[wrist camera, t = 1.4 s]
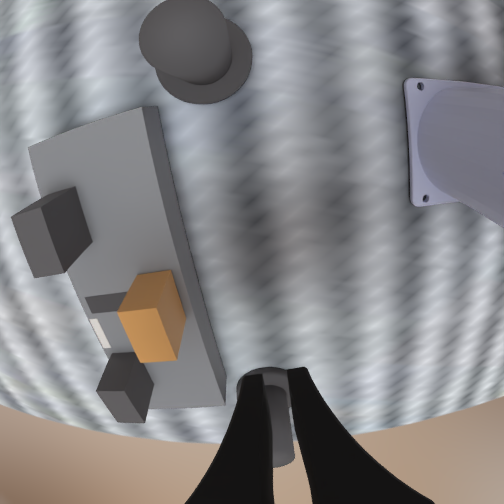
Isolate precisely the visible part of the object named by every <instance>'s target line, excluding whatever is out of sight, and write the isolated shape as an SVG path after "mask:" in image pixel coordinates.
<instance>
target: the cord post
mask: <svg viewBox="0 0 504 504" xmlns="http://www.w3.org/2000/svg"><path fill="white" fill-rule="evenodd" d="M255 374H262V375H263V379H264V384H265V389H266V394H267V398H268V403H269V408H270V415H271V424H272V432H273V468H275V467H281V466H284V465H287V464H289V463H291V462H292V461H293V460H294V458H295V454H294V446H293V438H292V431H291V423H290V416H289V408H290V407H291V400H290V393H289V385H288V378H287V371H286V370H284V369H280V368H274V367H266V368H259V369H255V370H253V371H250V372H248V373H247V374H245V375H244V376H247V375H255ZM244 376H243V377H244ZM243 377H242V378H243ZM242 378H241V379H240V380H239V382H238V384H237V400H238V396H239V392H240V388H241V382H242Z"/></svg>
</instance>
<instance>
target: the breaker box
mask: <svg viewBox="0 0 504 504" xmlns="http://www.w3.org/2000/svg"><path fill="white" fill-rule="evenodd" d="M28 150H29V154H30V159H31V163H32V167H33V171H34V174H35V178H36V182H37V185H38V189H39V192H40V196H41V199H39V200H38V201H36V202H34V203H33V204H31V205H29V206H28V207H26V208H24V209H23V210H21V211H20V212H18V213H16V214H15V215H13V216H12V217H11V218H12V221H13V224H14V227H15V230H16V233H17V236H18V238H19V241H20V244H21V246H22V249H23V252H24V254H25V257H26V259H27V262H28V264H29V266H30V269H31V271H32V274H33V276H34V278H39V277H45V276H50V275H56V274H62V273H65V272H66V271H67V272H68V275H69V277H70V280H71V282H72V284H73V287H74V289H75V291H76V294H77V296H78V298H79V300H80V303H81V305H82V307H83V309H84V311H85V313H86V316H87V318H88V320H89V322H90V324H91V326H92V328H93V330H94V332H95V334H96V336H97V338H98V340H99V342H100V344H101V346H102V348H103V349H104V351H105V353H106V355H107V357H108V359H109V361H108V363H107V366H106V368H105V370H104V373H103V375H102V378H101V380H100V382H99V385H98V387H97V390H96V392H97V393H98V395H99V396H100V398H101V399H102V401H103V402H104V404H105V405H106V406H107V408H108V409H109V411H110V412H111V414H112V415H113V416H114V418H115V419H116V420H117V422H121V423H145V420H146V416H147V412H148V409H178V408H199V407H213V406H225V402H226V374H225V371H224V367H223V364H222V361H221V358H220V354H219V351H218V348H217V345H216V341H215V338H214V335H213V331H212V328H211V325H210V321H209V318H208V314H207V311H206V307H205V304H204V300H203V297H202V293H201V289H200V286H199V282H198V279H197V275H196V271H195V267H194V264H193V260H192V256H191V252H190V248H189V244H188V241H187V237H186V233H185V229H184V225H183V221H182V216H181V212H180V208H179V204H178V200H177V196H176V191H175V187H174V183H173V178H172V174H171V169H170V165H169V160H168V156H167V151H166V146H165V141H164V137H163V132H162V127H161V122H160V117H159V112H158V106H157V107H140V108H136V109H133V110H129V111H126V112H122V113H119V114H116V115H113V116H110V117H106V118H103V119H100V120H97V121H94V122H91V123H89V124H86V125H83V126H80V127H77V128H75V129H72V130H69V131H67V132H64V133H61V134H59V135H56V136H54V137H51V138H49V139H46V140H44V141H42V142H39V143H37V144H35V145H32V146H30V147H28ZM167 270H171V272H172V275H173V278H174V281H175V285H176V288H177V291H178V294H179V297H180V300H181V304H182V307H183V310H184V313H185V316H186V322H185V327H184V331H183V336H182V340H181V345H180V349H179V354H178V359H177V361H163V362H148V363H140V361H139V359H138V357H137V355H136V353H135V351H134V349H133V347H132V345H131V343H130V340H129V338H128V336H127V334H126V332H125V330H124V327H123V325H122V323H121V321H120V318H119V316H118V314H117V311H118V309H119V307H120V305H121V303H122V302H123V300H124V298H125V296H126V294H127V292H128V290H129V288H130V287H131V285H132V283H133V281H134V279H135V277H136V276H137V275H140V274H147V273H153V272H160V271H167Z"/></svg>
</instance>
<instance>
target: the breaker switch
mask: <svg viewBox="0 0 504 504" xmlns="http://www.w3.org/2000/svg"><path fill="white" fill-rule="evenodd" d="M117 314H118V316H119V318H120V321H121V323H122V325H123V327H124V330H125V332H126V334H127V336H128V338H129V340H130V343H131V345H132V347H133V349H134V351H135V353H136V355H137V357H138V359H139V361H140V363H148V362H163V361H177V359H178V354H179V349H180V345H181V340H182V336H183V331H184V327H185V322H186V316H185V313H184V310H183V307H182V304H181V300H180V297H179V294H178V291H177V288H176V285H175V281H174V278H173V275H172V272H171V270H167V271H160V272H153V273H147V274H140V275H137V276H136V277H135V279H134V281H133V283H132V285H131V287H130V288H129V290H128V292H127V294H126V296H125V298H124V300H123V302H122V303H121V305H120V307H119V309H118V311H117Z"/></svg>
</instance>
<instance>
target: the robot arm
mask: <svg viewBox="0 0 504 504" xmlns="http://www.w3.org/2000/svg"><path fill="white" fill-rule="evenodd" d="M418 83H420V85H421V89H420V90H419V89H418V88H417V84H418ZM404 92H405V101H406V111H407V123H408V137H409V157H410V200H411V203H412V204H413V205H415V206H416V207H421V206H429V205H436V204H444V203H452V202H462V203H463V204H465V205H467V206H468V207H470V208H472V209H474V210H475V211H477V212H479V213H480V214H482V215H484V216H485V217H487V218H488V219H490V220H492V221H493V222H495V223H496V224H498V225H500V226H501V227H503V228H504V87H499V86H493V85H486V84H479V83H471V82H462V81H452V80H440V79H424V78H408V79H406V80H405V82H404ZM424 195H426V199H425V200H424V201H423V196H424ZM287 378H288V385H289V393H290V400H291V407H292V414H293V420H294V427H295V432H296V435H297V439H298V443H299V447H300V450H301V454H302V458H303V462H304V465H305V469H306V473H307V477H308V480H309V485H310V490H311V495H312V502H313V504H435V503H434V502H433V501H432V500H430V499H429V498H427V497H425V496H423V495H422V494H420V493H418V492H417V491H415V490H414V489H412V488H411V487H409V486H408V485H406V484H405V483H403V482H402V481H401V480H399V479H398V478H396V477H395V476H394V475H393V474H391V473H390V472H389V471H388V470H387V469H385V468H384V467H383V466H382V465H381V464H379V463H378V462H377V461H376V460H375V459H374V458H373V457H372V456H371V455H369V454H368V453H367V452H366V451H365V450H364V449H363V448H362V447H361V446H360V445H359V444H358V443H357V441H355V439H354V438H353V437H352V436H351V435H350V434H349V432H348V431H347V430H346V429H345V428H344V426H343V425H342V424H341V423H340V422H339V420H338V419H337V418H336V416H335V415H334V414H333V412H332V411H331V409H330V408H329V406H328V405H327V404H326V402H325V401H324V399H323V398H322V396H321V394H320V393H319V391H318V389H317V388H316V386H315V384H314V382H313V380H312V378H311V376H310V374H309V372H308V369H307V368H305V367H300V368H294V369H288V370H287ZM185 504H274V495H273V432H272V424H271V415H270V408H269V403H268V398H267V394H266V389H265V384H264V379H263V375H262V374H255V375H247V376H244V377H243V378H242V382H241V388H240V392H239V396H238V400H237V403H236V407H235V410H234V413H233V416H232V418H231V421H230V424H229V427H228V429H227V432H226V434H225V436H224V438H223V441H222V443H221V445H220V448H219V450H218V452H217V454H216V456H215V458H214V459H213V462H212V463H211V465H210V467H209V468H208V470H207V472H206V474H205V475H204V477H203V478H202V480H201V482H200V483H199V485H198V486H197V488H196V489H195V491H194V492H193V493H192V495H191V496H190V497H189V499H188V500H187V501H186V502H185Z"/></svg>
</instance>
